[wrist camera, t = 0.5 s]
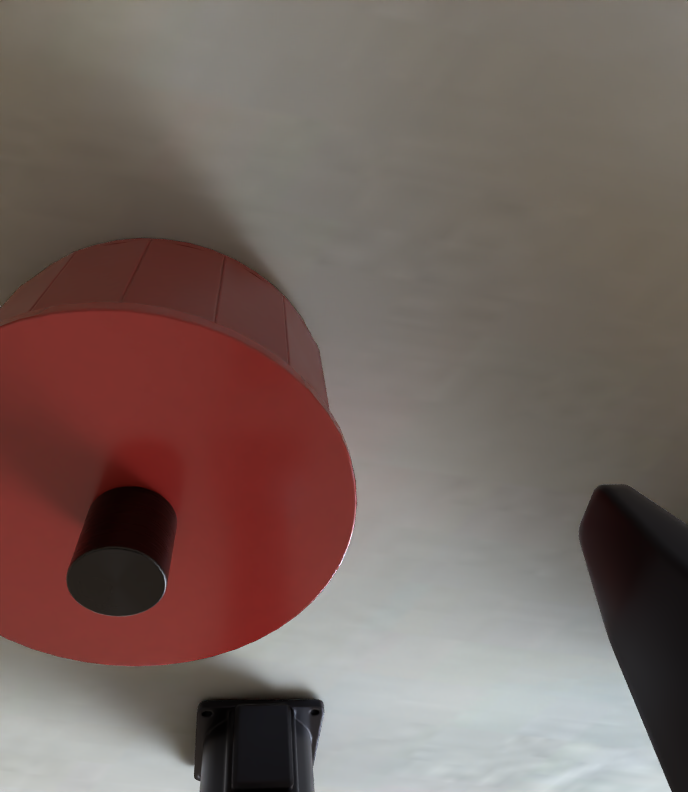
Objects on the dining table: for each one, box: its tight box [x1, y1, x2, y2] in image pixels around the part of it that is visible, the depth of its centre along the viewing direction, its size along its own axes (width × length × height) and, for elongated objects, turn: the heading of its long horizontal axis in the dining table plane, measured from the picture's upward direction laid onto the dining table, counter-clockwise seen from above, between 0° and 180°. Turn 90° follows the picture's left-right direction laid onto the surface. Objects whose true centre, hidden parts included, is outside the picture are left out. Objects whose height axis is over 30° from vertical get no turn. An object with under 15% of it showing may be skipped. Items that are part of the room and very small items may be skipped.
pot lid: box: [0, 302, 357, 666], centre depth 17 cm, size 13×13×4 cm
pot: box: [0, 238, 330, 410], centre depth 21 cm, size 12×12×6 cm
